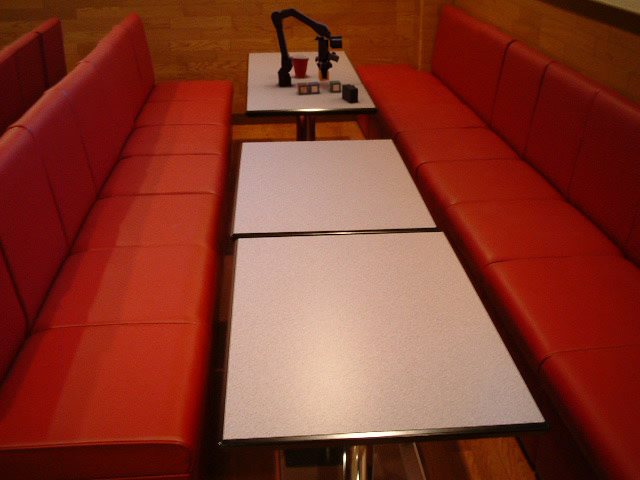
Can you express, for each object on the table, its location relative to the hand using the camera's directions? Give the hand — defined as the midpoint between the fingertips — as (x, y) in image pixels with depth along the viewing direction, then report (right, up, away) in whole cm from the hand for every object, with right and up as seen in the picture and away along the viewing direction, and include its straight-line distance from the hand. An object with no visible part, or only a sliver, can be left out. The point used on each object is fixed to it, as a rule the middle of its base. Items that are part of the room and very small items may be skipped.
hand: (323, 77), depth 348 cm
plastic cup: (-13, +6, +21) cm, 25 cm away
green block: (+6, -9, -9) cm, 14 cm away
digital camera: (+14, -18, -25) cm, 33 cm away
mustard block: (0, -1, +1) cm, 1 cm away
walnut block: (-11, -11, -11) cm, 19 cm away
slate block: (-5, -10, -11) cm, 16 cm away
